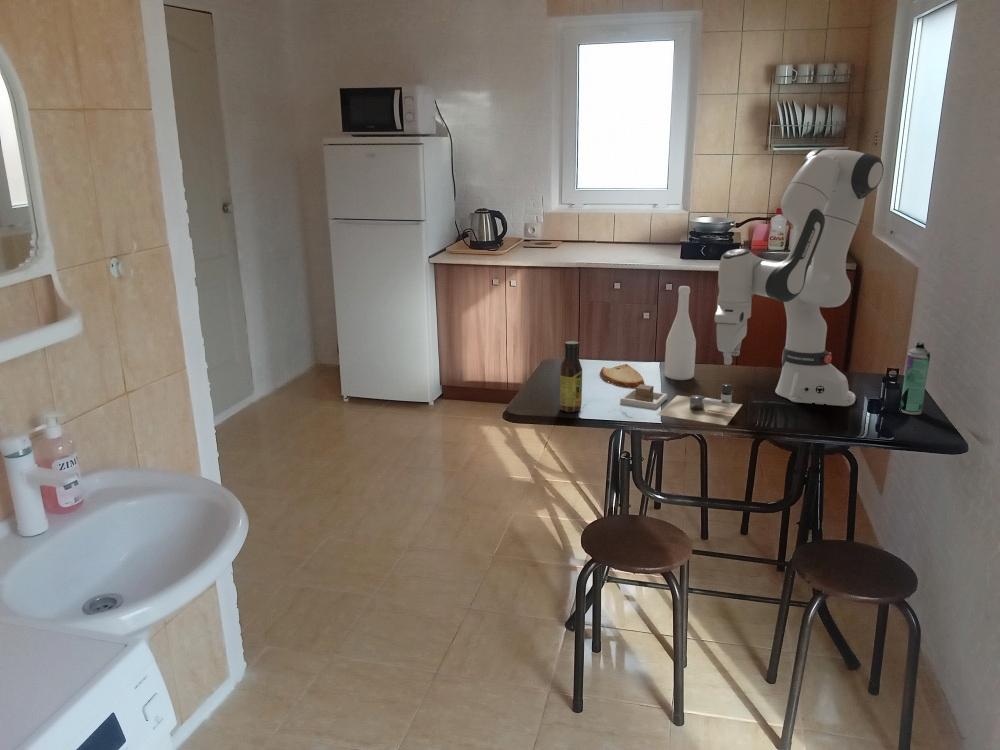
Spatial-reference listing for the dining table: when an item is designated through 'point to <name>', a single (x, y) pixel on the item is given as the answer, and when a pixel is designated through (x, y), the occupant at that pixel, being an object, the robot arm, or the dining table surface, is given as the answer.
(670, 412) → the crank board
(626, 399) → the tray
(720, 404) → the crank
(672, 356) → the wine bottle
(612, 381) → the bread slice
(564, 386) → the sauce bottle
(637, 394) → the block
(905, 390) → the spray can
